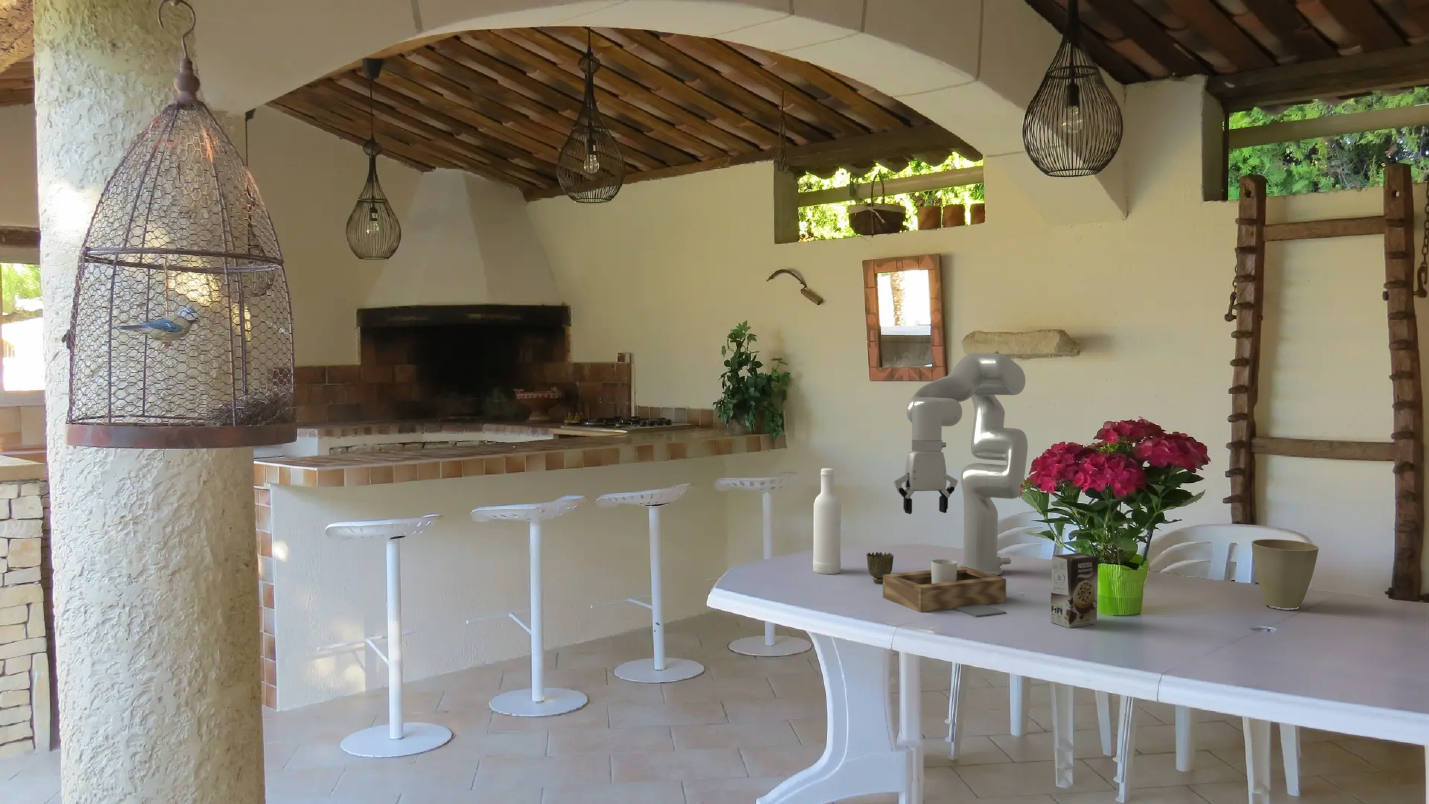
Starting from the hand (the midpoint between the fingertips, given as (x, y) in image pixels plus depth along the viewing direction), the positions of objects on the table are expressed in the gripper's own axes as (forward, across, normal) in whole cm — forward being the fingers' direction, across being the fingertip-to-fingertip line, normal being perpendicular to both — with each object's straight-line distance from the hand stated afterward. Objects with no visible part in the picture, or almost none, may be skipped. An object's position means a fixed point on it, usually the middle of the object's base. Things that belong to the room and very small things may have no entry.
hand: (925, 512), depth 281 cm
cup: (+22, +5, -19) cm, 30 cm away
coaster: (+22, -7, +16) cm, 29 cm away
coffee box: (+22, -24, +32) cm, 46 cm away
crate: (+22, -4, +3) cm, 23 cm away
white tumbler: (+22, -4, +3) cm, 23 cm away
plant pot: (+22, -83, +30) cm, 91 cm away
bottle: (+22, +14, -37) cm, 45 cm away
